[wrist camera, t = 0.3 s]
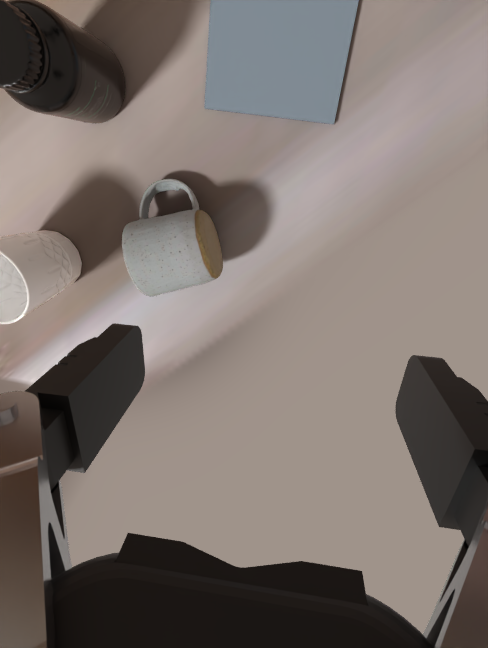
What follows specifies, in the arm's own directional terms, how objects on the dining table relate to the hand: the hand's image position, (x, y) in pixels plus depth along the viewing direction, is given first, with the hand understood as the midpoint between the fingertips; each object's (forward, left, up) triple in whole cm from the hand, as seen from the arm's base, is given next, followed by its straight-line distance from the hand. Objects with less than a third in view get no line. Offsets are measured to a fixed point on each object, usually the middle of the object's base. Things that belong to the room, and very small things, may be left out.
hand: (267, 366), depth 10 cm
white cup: (+8, -26, -28) cm, 39 cm away
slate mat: (-15, -3, -28) cm, 32 cm away
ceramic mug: (+3, -11, -29) cm, 31 cm away
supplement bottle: (-10, -20, -28) cm, 36 cm away
